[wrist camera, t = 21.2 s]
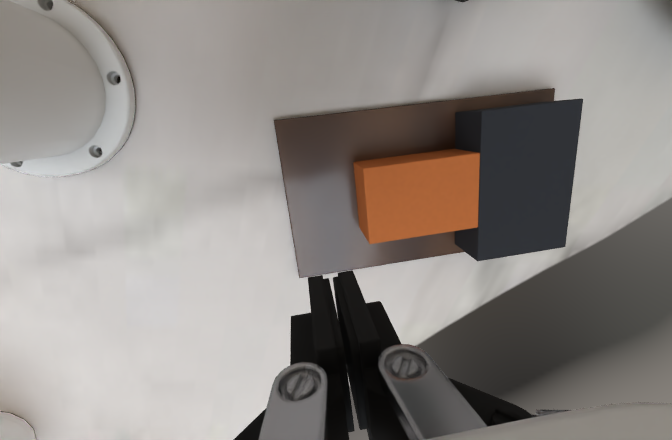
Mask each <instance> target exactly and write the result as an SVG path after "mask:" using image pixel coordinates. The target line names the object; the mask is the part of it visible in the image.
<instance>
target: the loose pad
mask: <svg viewBox="0 0 672 440" xmlns="http://www.w3.org/2000/svg"><path fill="white" fill-rule="evenodd" d="M353 165H354V175H355V186H356V196H357V207H358V217H359V228H360V229H361V231H362V233H363V234H364V236H365V237H366V239H367V241H368V242H369V244H375V243H381V242H387V241H394V240H400V239H407V238H413V237H419V236H426V235H432V234H439V233H445V232H452V231H458V230H464V229H471V228H477V227H478V205H479V167H480V153H477V152H471V151H465V150H459V149H448V150H440V151H433V152H425V153H417V154H410V155H402V156H395V157H387V158H380V159H372V160H364V161H357V162H354V163H353Z"/></svg>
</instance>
